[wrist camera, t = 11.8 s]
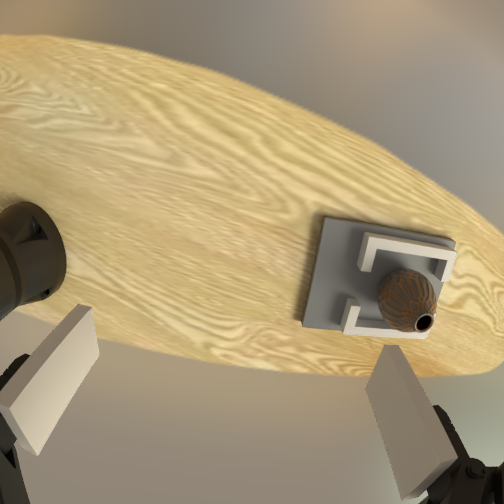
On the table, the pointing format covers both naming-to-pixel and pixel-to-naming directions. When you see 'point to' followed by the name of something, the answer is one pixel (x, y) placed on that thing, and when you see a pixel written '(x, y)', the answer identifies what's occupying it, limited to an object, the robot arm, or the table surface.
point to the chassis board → (368, 274)
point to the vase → (407, 301)
